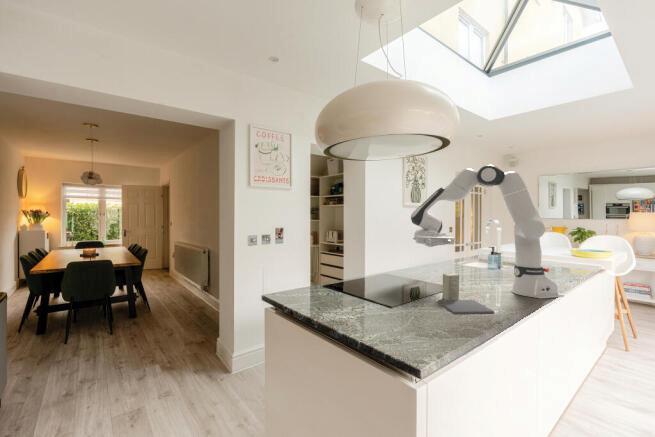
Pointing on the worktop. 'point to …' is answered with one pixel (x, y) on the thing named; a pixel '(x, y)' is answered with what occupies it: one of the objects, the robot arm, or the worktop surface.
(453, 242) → the robot arm
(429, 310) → the worktop surface
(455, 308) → the mat
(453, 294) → the skincare box
